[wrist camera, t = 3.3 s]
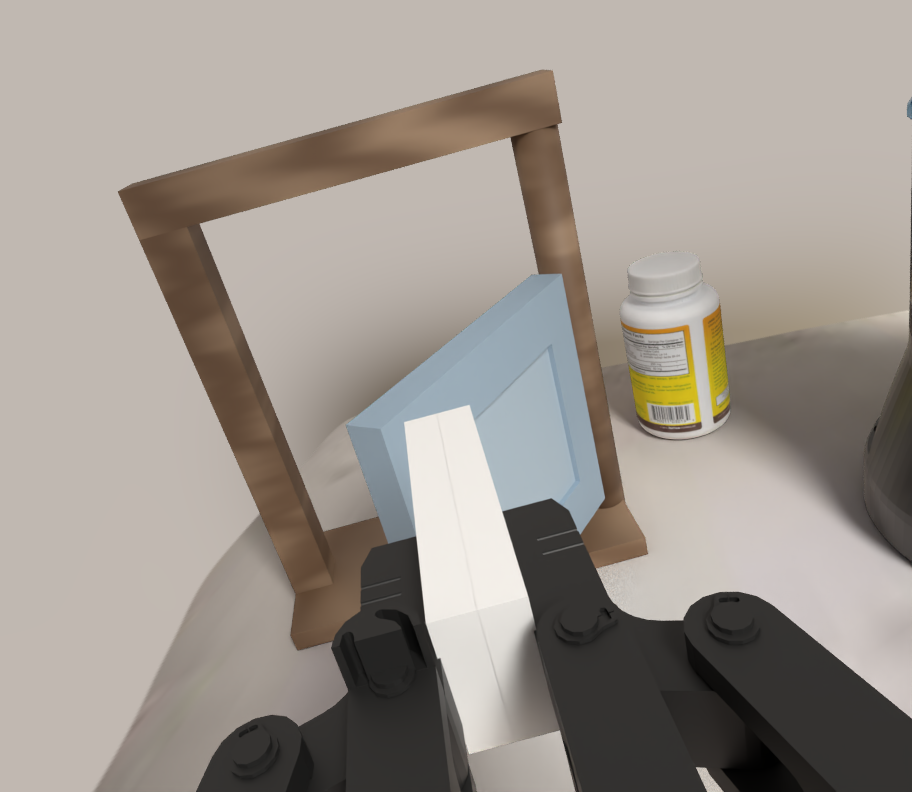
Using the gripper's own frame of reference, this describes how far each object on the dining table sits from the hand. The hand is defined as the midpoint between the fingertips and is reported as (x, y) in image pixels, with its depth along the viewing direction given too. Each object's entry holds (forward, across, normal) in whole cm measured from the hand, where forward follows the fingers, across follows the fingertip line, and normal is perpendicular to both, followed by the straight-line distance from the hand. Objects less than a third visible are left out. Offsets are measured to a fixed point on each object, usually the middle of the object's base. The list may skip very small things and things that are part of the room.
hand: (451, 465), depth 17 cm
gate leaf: (+12, +2, -14) cm, 18 cm away
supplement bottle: (+25, +14, -16) cm, 32 cm away
